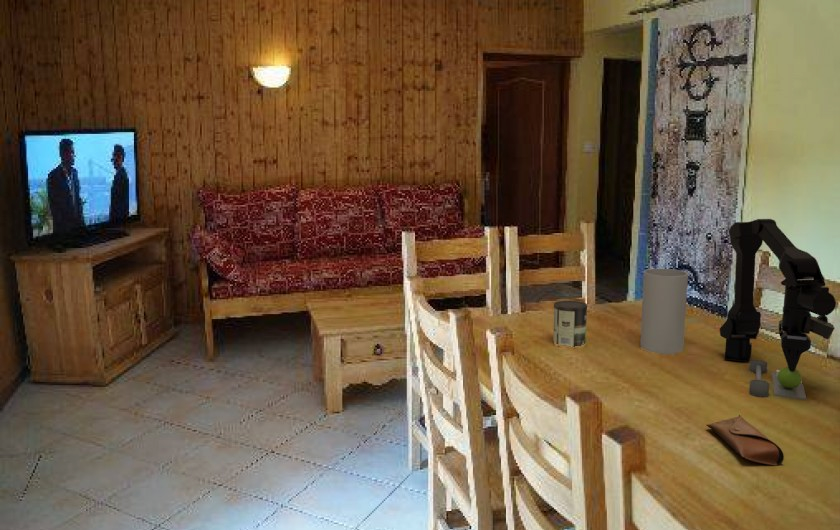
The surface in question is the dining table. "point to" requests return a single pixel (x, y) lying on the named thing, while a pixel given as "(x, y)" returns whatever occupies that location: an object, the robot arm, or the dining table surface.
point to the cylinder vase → (663, 310)
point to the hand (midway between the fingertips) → (790, 365)
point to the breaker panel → (787, 389)
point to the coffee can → (570, 323)
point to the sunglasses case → (748, 441)
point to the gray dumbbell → (758, 379)
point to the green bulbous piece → (789, 378)
